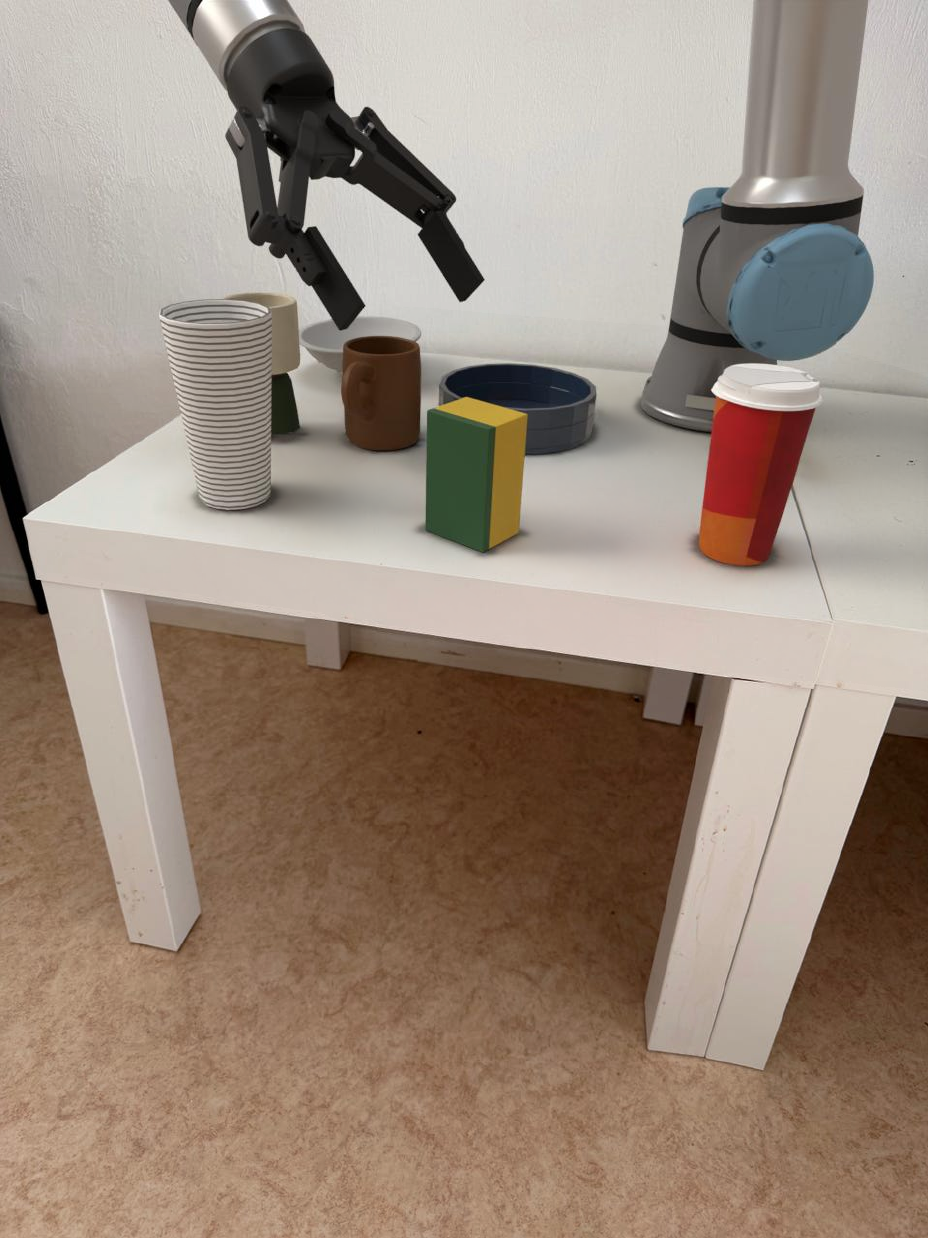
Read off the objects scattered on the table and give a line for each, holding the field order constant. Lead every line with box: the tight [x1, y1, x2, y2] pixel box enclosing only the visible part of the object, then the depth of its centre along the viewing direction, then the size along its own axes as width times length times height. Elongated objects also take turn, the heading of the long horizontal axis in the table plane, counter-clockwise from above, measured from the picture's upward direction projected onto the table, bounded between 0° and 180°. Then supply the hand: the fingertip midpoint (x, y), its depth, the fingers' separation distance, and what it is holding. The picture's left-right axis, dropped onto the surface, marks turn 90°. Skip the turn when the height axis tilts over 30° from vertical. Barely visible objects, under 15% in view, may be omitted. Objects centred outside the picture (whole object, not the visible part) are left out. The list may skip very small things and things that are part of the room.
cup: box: [158, 298, 272, 511], centre depth 72 cm, size 8×8×16 cm
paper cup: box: [698, 363, 823, 567], centre depth 67 cm, size 8×8×14 cm
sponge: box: [424, 397, 528, 553], centre depth 70 cm, size 5×6×10 cm
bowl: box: [437, 362, 598, 455], centre depth 93 cm, size 16×16×4 cm
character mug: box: [221, 292, 301, 436], centre depth 87 cm, size 11×7×13 cm, turn 167°
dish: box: [299, 315, 422, 373], centre depth 107 cm, size 18×14×5 cm
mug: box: [340, 336, 422, 452], centre depth 86 cm, size 12×8×9 cm, turn 162°
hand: (416, 304), depth 67 cm, fingers open, 13 cm apart
